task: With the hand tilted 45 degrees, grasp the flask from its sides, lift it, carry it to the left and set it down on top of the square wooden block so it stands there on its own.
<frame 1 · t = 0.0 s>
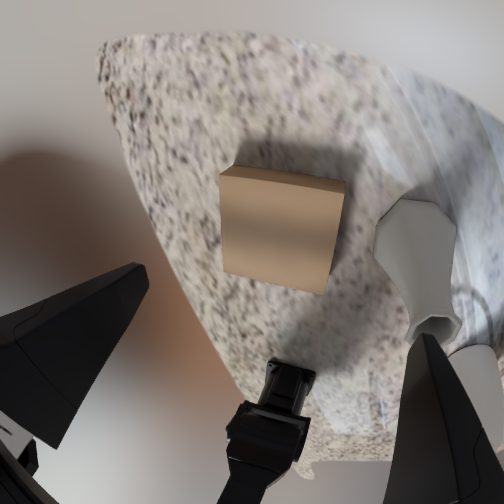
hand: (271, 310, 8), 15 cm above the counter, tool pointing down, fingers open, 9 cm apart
flask: (414, 238, 20), on the counter
pill bottle: (467, 361, 24), on the counter
square wooden block: (285, 221, 24), on the counter
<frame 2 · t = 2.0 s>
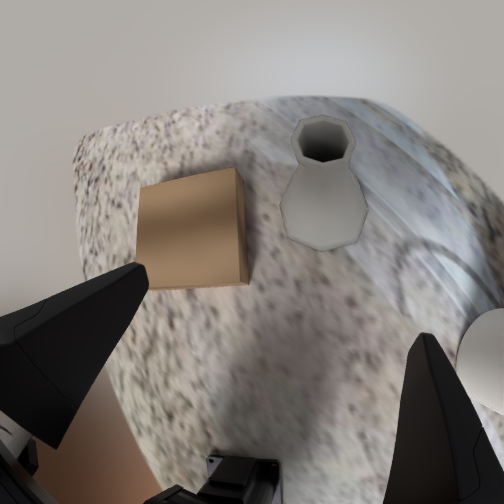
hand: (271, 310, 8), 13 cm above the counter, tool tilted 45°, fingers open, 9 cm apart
flask: (324, 209, 22), on the counter
pill bottle: (487, 353, 16), on the counter
square wooden block: (197, 237, 24), on the counter
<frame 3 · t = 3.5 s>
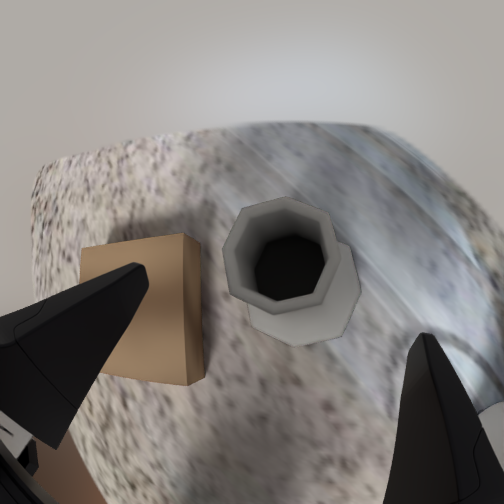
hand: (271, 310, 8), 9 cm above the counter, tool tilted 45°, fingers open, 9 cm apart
flask: (302, 287, 17), on the counter
pill bottle: (484, 444, 11), on the counter
square wooden block: (148, 311, 19), on the counter
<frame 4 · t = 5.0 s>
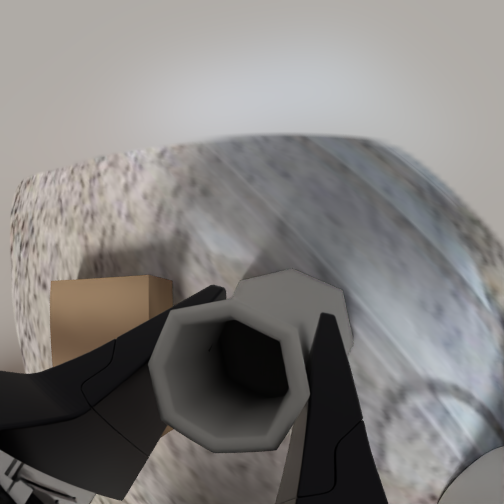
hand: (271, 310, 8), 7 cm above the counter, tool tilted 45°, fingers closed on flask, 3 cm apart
flask: (285, 336, 14), on the counter, touching gripper
pill bottle: (478, 486, 8), on the counter
square wooden block: (121, 349, 17), on the counter
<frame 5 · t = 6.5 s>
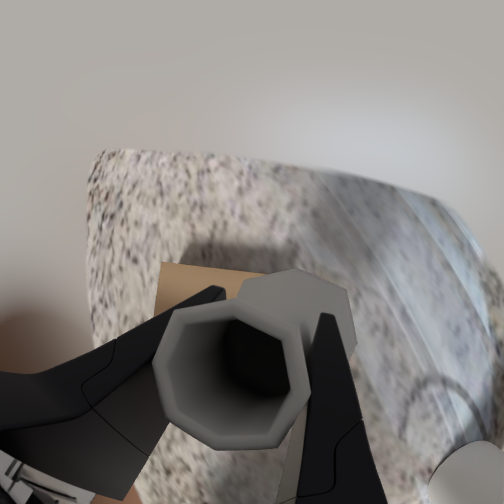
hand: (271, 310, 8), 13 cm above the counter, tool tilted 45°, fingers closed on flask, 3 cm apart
flask: (289, 335, 14), point 6 cm above the counter, touching gripper
pill bottle: (461, 471, 14), on the counter
square wooden block: (219, 327, 22), on the counter
when the fingers open (10 cm above the counter, at t = 7.9 s): flask stays where it is, resting on square wooden block.
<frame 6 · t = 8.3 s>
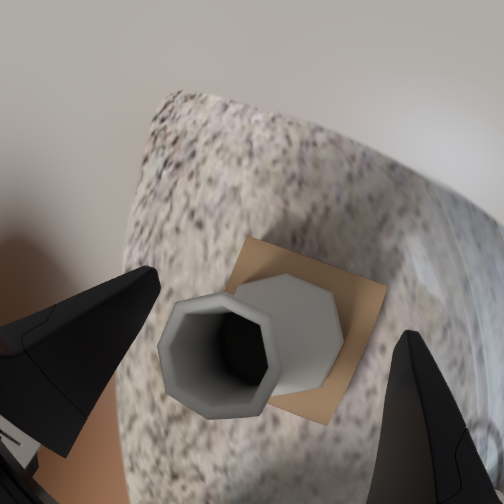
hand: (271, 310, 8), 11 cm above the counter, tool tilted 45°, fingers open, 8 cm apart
flask: (281, 335, 16), point 2 cm above the counter, touching square wooden block
square wooden block: (293, 329, 18), on the counter, touching flask
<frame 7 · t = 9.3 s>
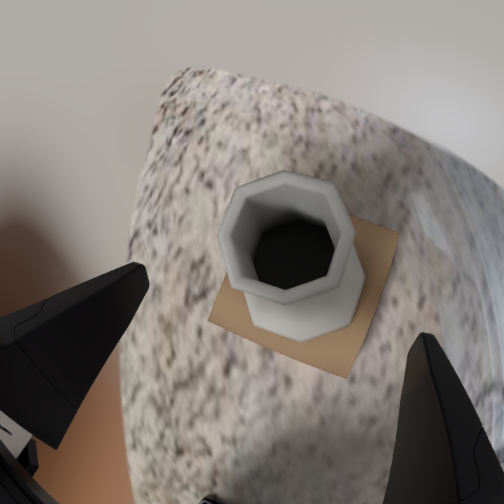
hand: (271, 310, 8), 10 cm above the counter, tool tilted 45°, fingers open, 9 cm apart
flask: (302, 279, 16), point 2 cm above the counter, touching square wooden block
square wooden block: (307, 283, 19), on the counter, touching flask
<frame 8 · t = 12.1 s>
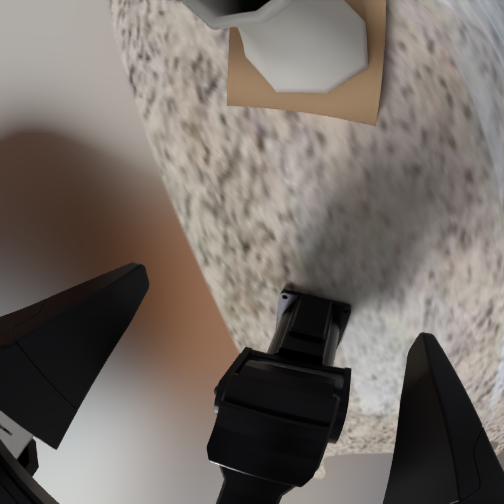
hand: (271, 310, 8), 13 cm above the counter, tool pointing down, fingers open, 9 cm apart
flask: (305, 38, 12), point 2 cm above the counter, touching square wooden block
square wooden block: (311, 47, 14), on the counter, touching flask
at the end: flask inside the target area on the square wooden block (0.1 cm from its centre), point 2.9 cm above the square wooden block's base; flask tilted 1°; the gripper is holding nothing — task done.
